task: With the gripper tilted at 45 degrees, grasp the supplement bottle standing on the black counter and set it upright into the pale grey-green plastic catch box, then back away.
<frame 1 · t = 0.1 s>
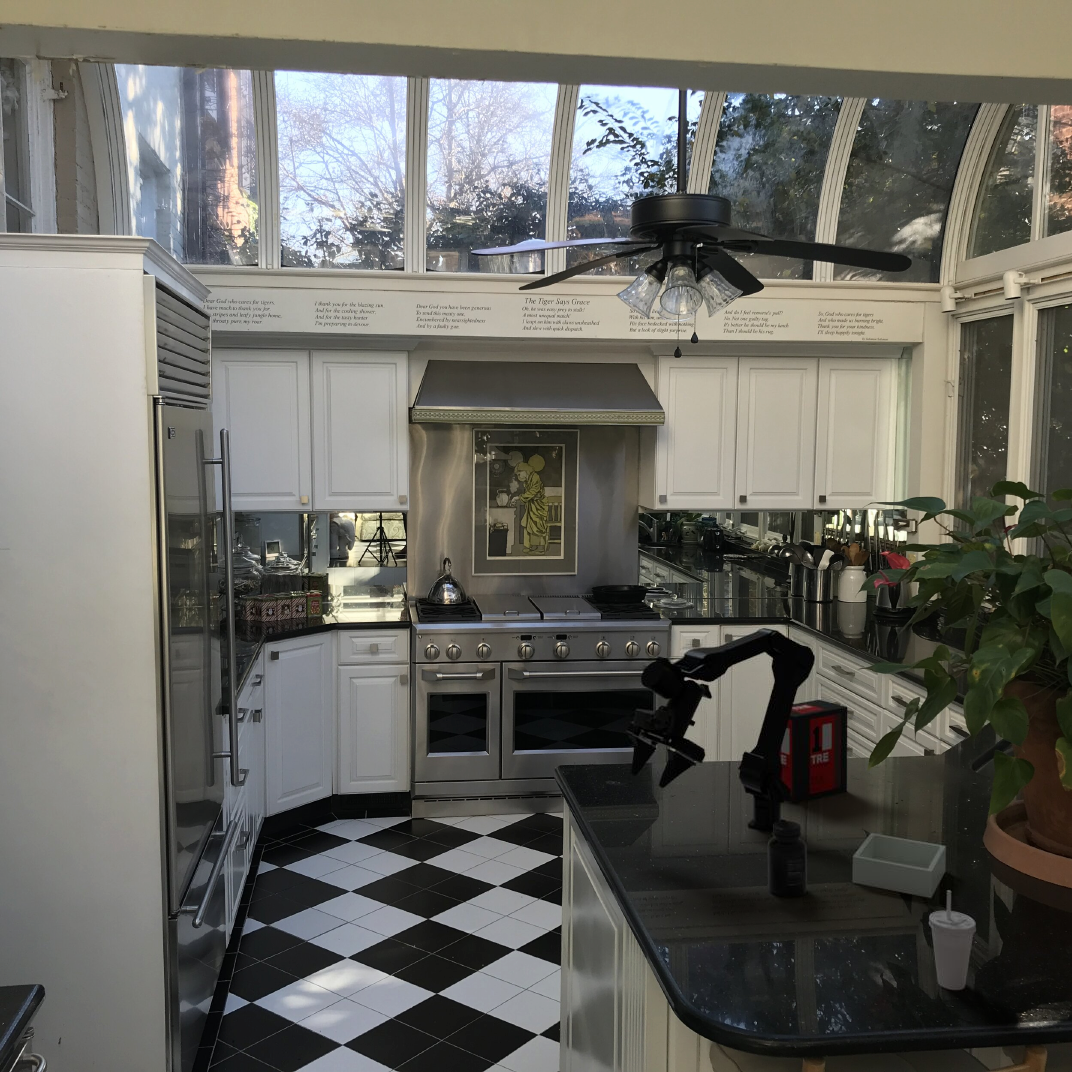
hand: (646, 780, 199), 15 cm above the countertop, tool tilted 35°, fingers open, 9 cm apart
catch box: (899, 876, 187), on the countertop
supplement bottle: (787, 891, 182), on the countertop
smoothie: (951, 984, 149), on the countertop
cleaning product box: (806, 793, 236), on the countertop
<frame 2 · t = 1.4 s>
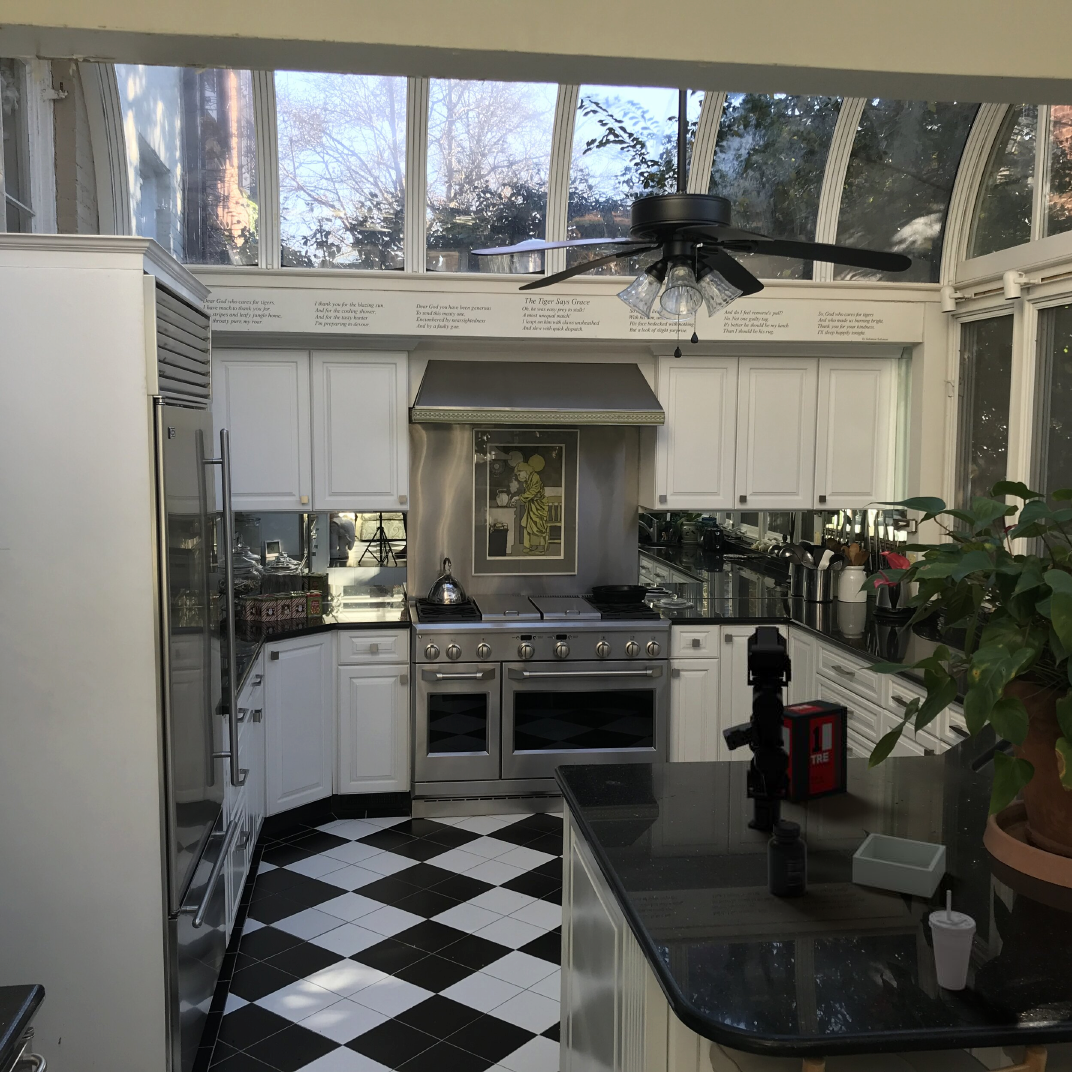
hand: (767, 791, 197), 13 cm above the countertop, tool pointing down, fingers open, 9 cm apart
nothing on the countertop moved.
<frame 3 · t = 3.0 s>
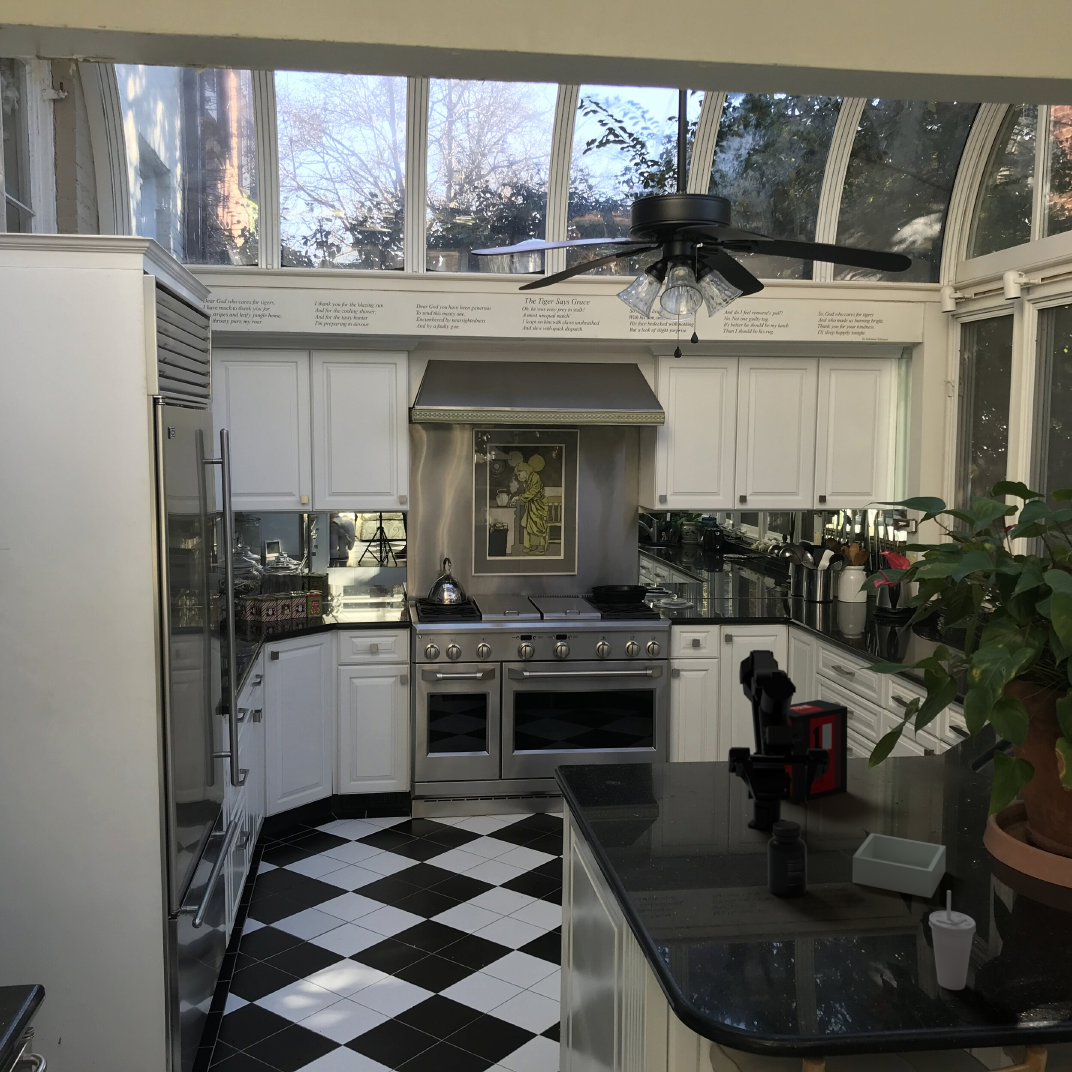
hand: (781, 801, 189), 13 cm above the countertop, tool tilted 45°, fingers open, 9 cm apart
nothing on the countertop moved.
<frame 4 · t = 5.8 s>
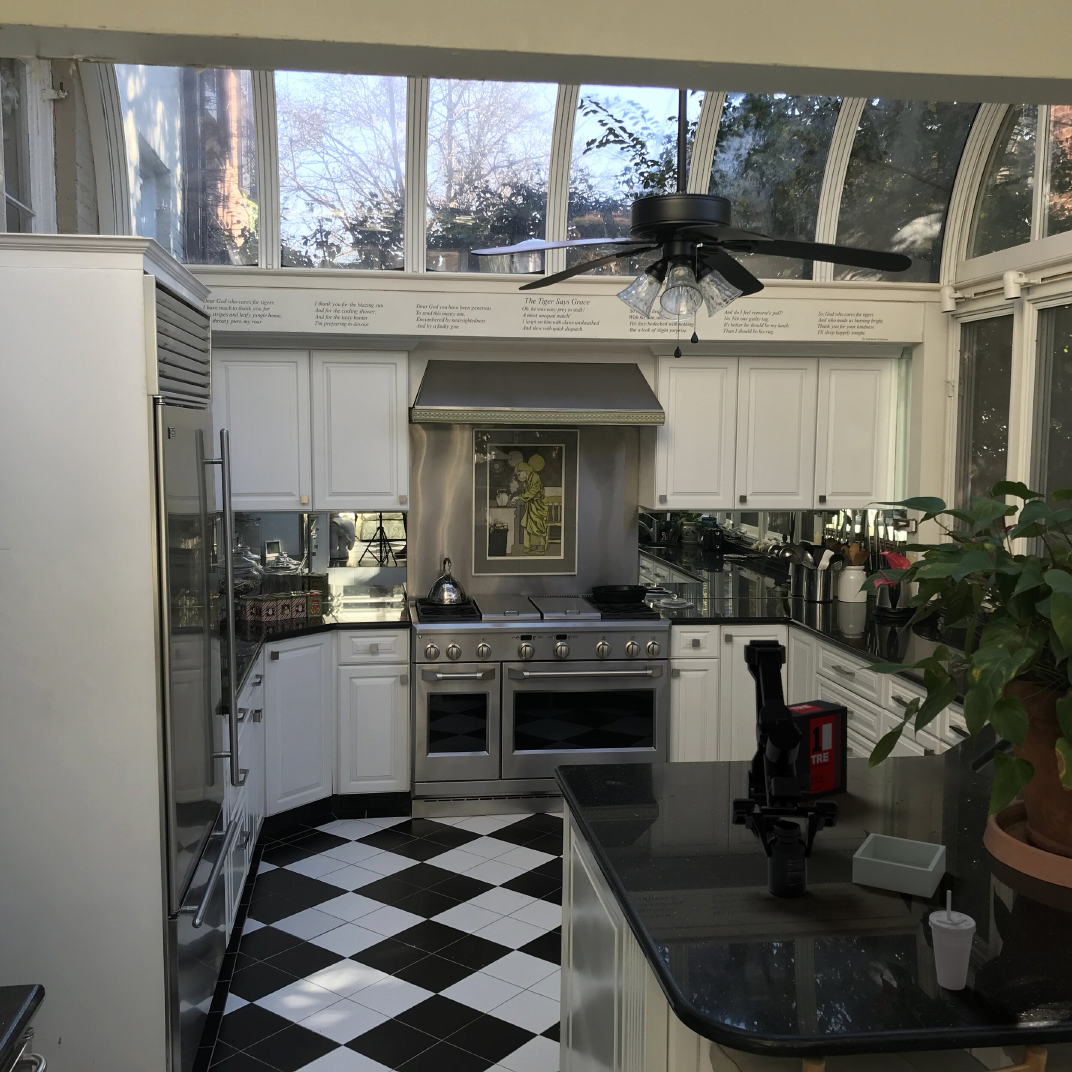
hand: (788, 857, 180), 7 cm above the countertop, tool tilted 45°, fingers closed on supplement bottle, 7 cm apart
supplement bottle: (787, 891, 182), on the countertop, touching gripper
everything else where it was.
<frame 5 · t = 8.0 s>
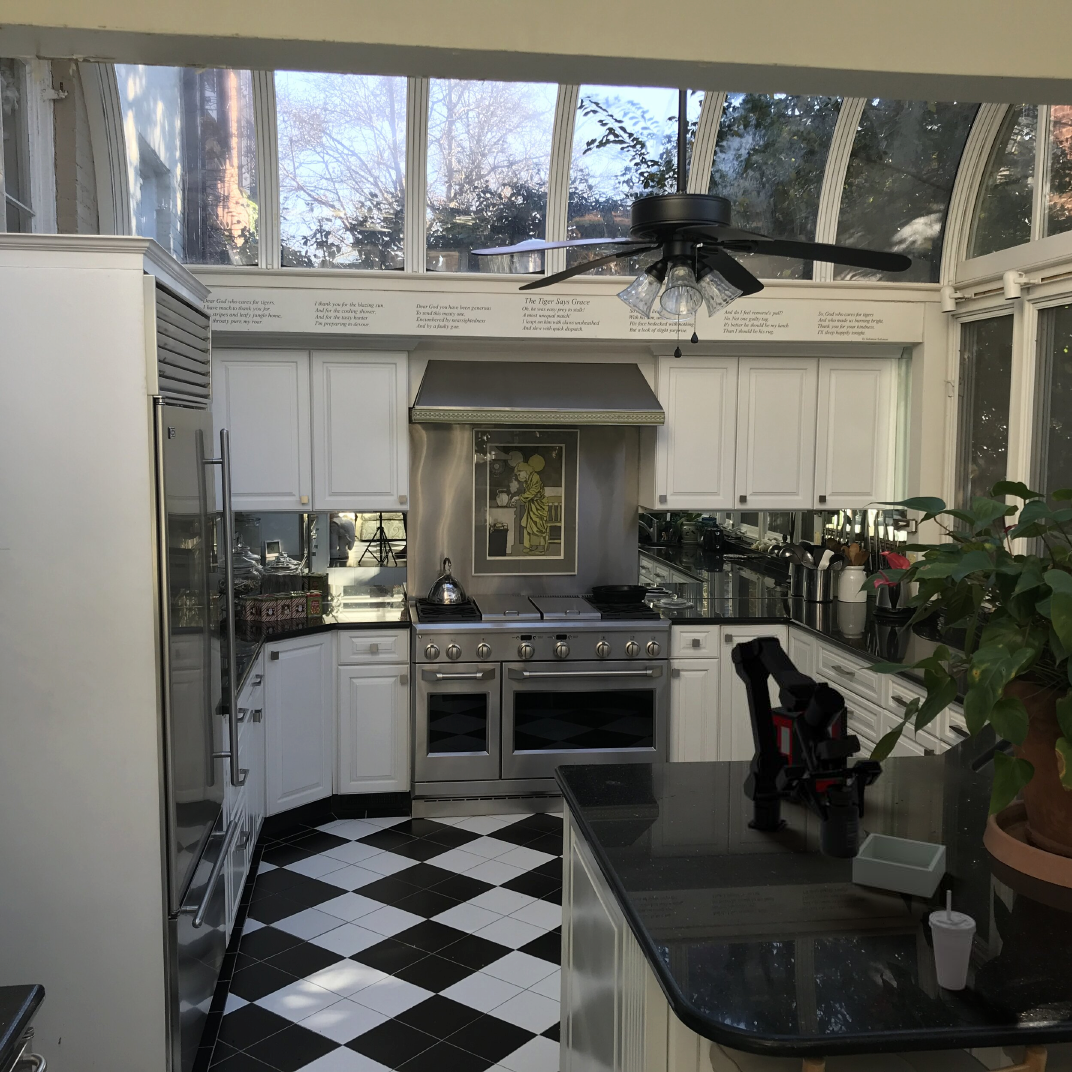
hand: (843, 819, 180), 13 cm above the countertop, tool tilted 45°, fingers closed on supplement bottle, 7 cm apart
supplement bottle: (839, 853, 182), point 6 cm above the countertop, touching gripper
everything else where it was.
when the fingers open (9 cm above the countertop, at t = 10.5 s): supplement bottle drops 1 cm, resting on catch box.
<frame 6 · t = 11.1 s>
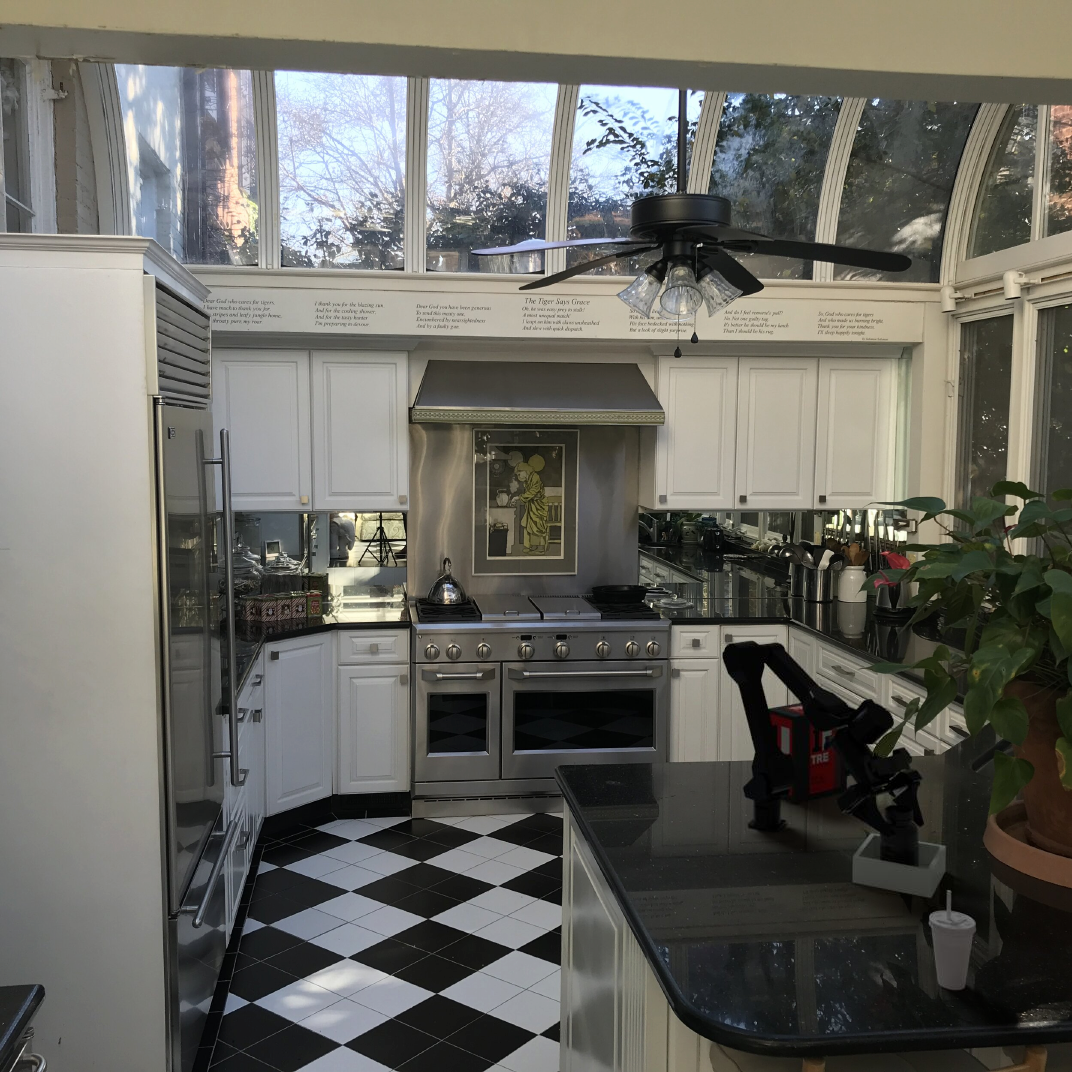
hand: (906, 831, 186), 9 cm above the countertop, tool tilted 45°, fingers open, 9 cm apart
supplement bottle: (898, 873, 187), point 1 cm above the countertop, touching catch box
everything else where it was.
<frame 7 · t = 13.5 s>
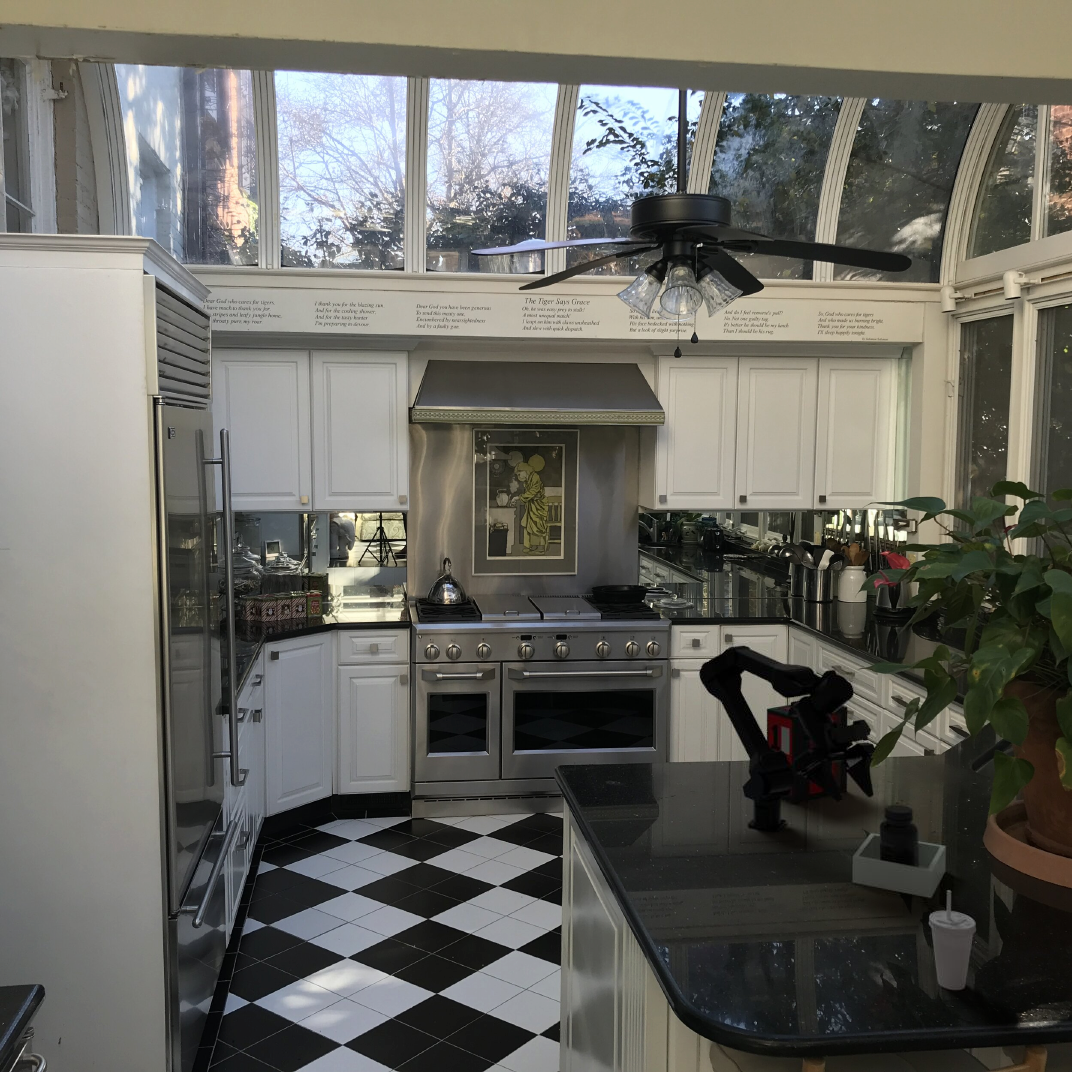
hand: (856, 798, 192), 13 cm above the countertop, tool tilted 40°, fingers open, 9 cm apart
nothing on the countertop moved.
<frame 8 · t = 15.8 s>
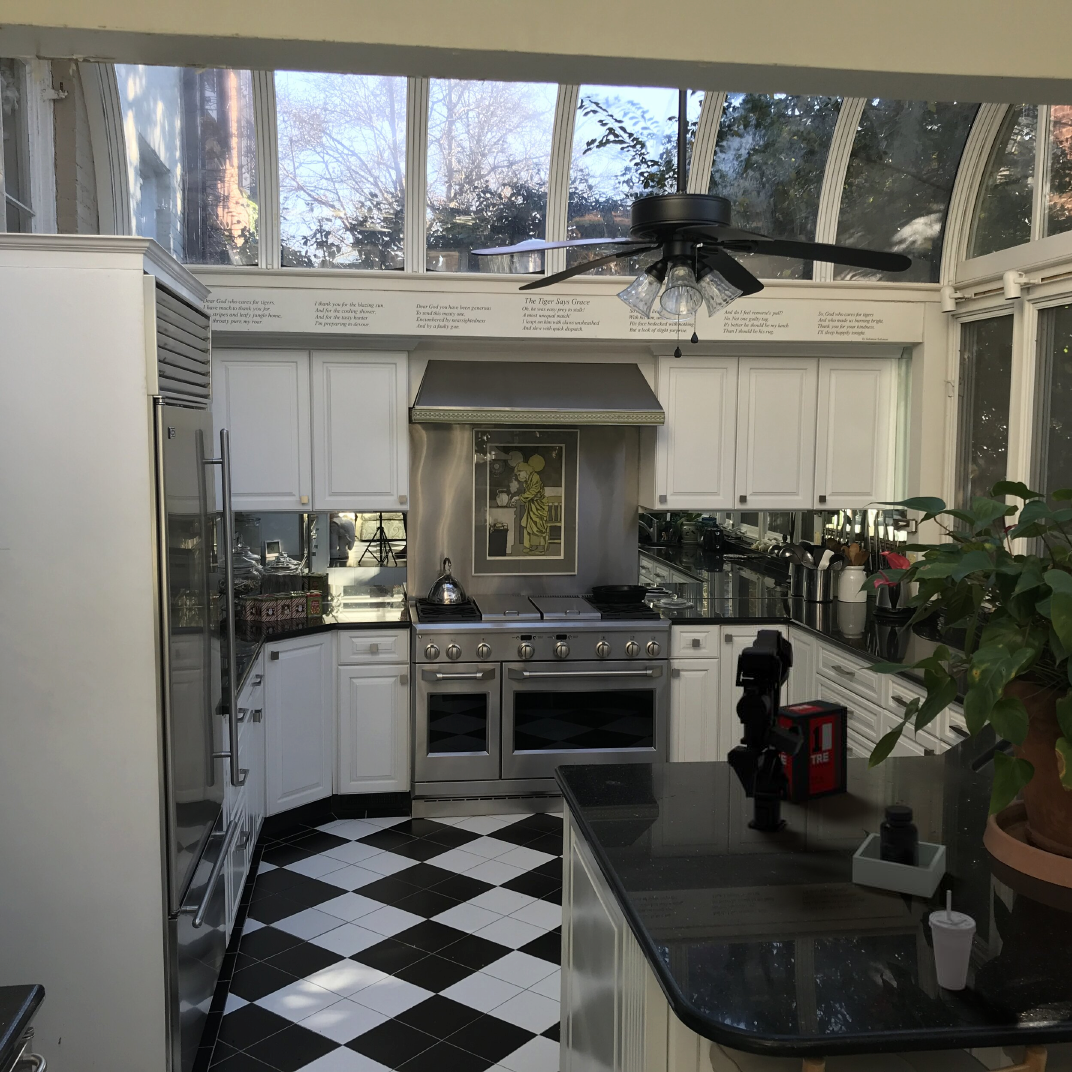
hand: (758, 790, 201), 12 cm above the countertop, tool pointing down, fingers open, 9 cm apart
nothing on the countertop moved.
at the end: supplement bottle inside the target area on the catch box (0.1 cm from its centre), point 0.6 cm above the catch box's base; supplement bottle tilted 0°; the gripper is holding nothing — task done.
